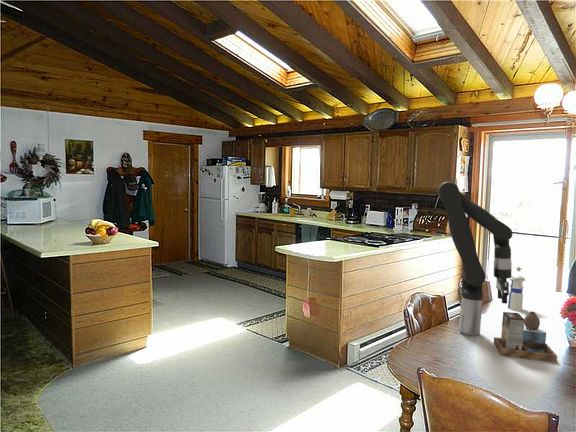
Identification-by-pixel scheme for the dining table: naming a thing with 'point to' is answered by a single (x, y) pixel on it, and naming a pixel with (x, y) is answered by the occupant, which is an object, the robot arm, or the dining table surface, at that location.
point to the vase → (532, 321)
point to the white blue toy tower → (516, 292)
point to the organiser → (529, 347)
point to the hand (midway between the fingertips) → (502, 300)
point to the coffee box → (512, 331)
